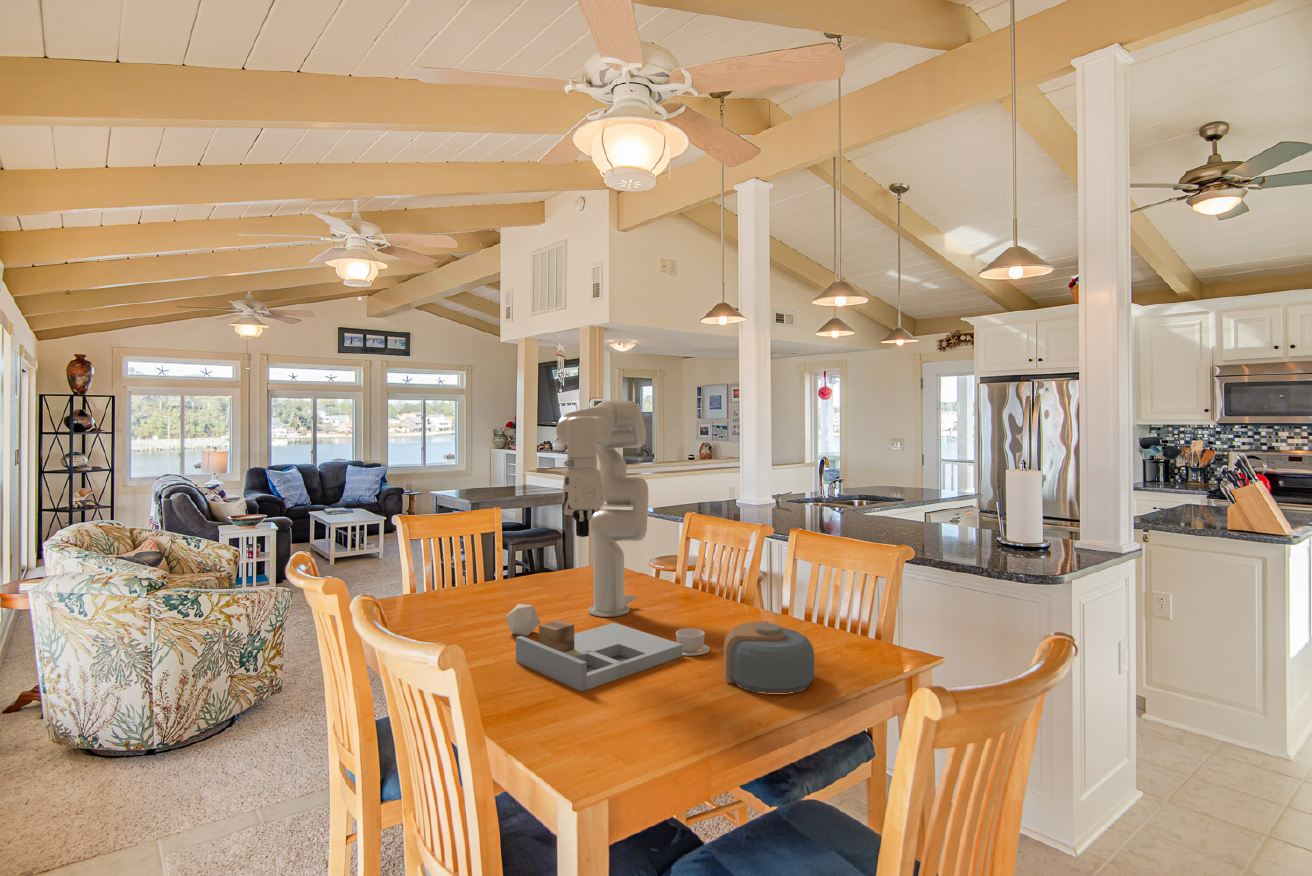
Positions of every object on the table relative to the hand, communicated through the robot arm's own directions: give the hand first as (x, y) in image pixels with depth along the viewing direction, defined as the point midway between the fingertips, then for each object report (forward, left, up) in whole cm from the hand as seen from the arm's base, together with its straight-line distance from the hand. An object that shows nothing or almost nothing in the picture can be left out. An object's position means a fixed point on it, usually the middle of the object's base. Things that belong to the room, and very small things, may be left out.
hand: (582, 535), depth 171 cm
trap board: (+1, +9, -29) cm, 30 cm away
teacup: (-19, +20, -30) cm, 40 cm away
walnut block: (+10, +3, -26) cm, 28 cm away
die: (+4, -22, -29) cm, 37 cm away
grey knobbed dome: (-17, +46, -30) cm, 57 cm away
